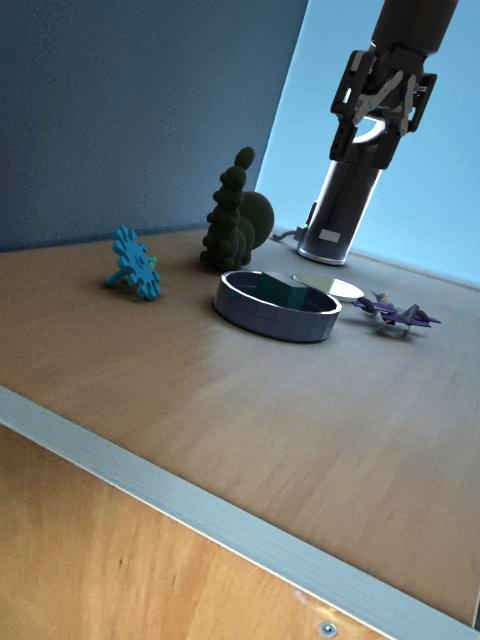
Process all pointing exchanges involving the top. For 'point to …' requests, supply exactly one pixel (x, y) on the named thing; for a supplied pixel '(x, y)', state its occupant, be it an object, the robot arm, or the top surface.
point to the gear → (134, 264)
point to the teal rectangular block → (280, 290)
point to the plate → (330, 286)
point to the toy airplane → (394, 312)
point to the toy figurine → (236, 218)
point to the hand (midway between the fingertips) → (357, 165)
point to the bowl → (275, 310)
